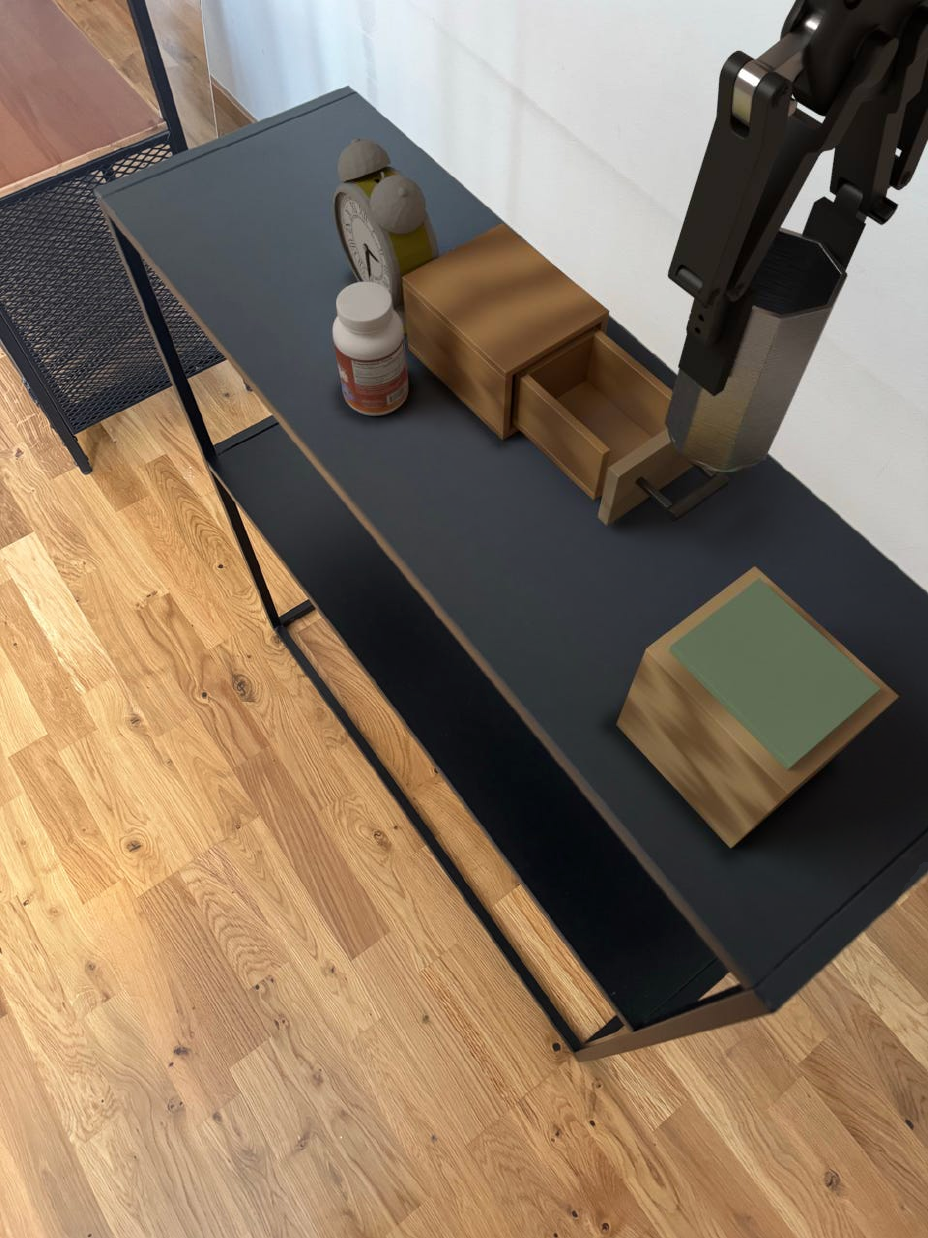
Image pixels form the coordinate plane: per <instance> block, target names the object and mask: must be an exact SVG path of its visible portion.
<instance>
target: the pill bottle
mask: <svg viewBox="0 0 928 1238" xmlns="http://www.w3.org/2000/svg"><path fill="white" fill-rule="evenodd" d="M335 303H336V304H335V305H336V306H335V307H336V314H337V316H336V317H335V319H334V321H333V324H332V339H333V345H334V350H335V357H336V361H337V367H338V373H339V379H340V383H341V389H342V390H341V391H342V394H343V398H344V399H345V402H346V404H347V405H348V406H349V407H350V408H351V409H352V410H354V411H355V412H357V413H359V414H361V415H365V416H373V417H376V416H384V415H387V414H390V413H392V412H394V411H396V410H397V409H399V408H400V407H401V406H402V405H403V404H404V403H405V401H406V399H407V397H408V393H409V378H408V376H409V375H408V365H407V355H406V342H405V334H404V331H403V324H402V321H401V319H400V317H399V316H398V314H397V313H396V312H395V310H394V308H393V304H392V297H391V295H390V293H389V291H388V290H387V289H386V288H385V287H383V286H382V285H380V284H377V283H374V282H358V281H357V282H354V283H352V284H349V285H347V286H345V287H344V288H343V289H342V290H341V291H339V293H338V295H337V297H336V302H335Z"/></svg>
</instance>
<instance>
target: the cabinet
mask: <svg viewBox="0 0 928 1238" xmlns="http://www.w3.org/2000/svg"><path fill="white" fill-rule="evenodd" d="M402 281H403V293H404V305H405V316H406V328H407V334H406V340H407V348H408V350H409V351H410V352H411V353H412V354H413V355H414V356H415V357H416V358H417V359H418V360H419V361H421V363H423V365H424V366H425V367H427V368H428V370H430V372H432V374H434V375H435V376H436V377H437V379H439V380H440V381H441V382H442V383H443V384H444V385H445V386H446V387H447V388H448V389H449V390H450V391H451V392H452V393H453V394H454V395H455V396H456V397H457V398H458V399H459V400H460V401H461V402H462V403H463V404H464V405H466V407H468V408H469V409H470V411H472V412H473V413H474V414H475V415H476V416H477V417H478V419H480V420H481V421H482V422H483V423H484V424H485V425H486V426H487V427H488V428H489V429H490V430H491V431H492V432H493V433H494V434H496V436H497V437H498V438H499V439H500V440H501V441H505V440H506V439H508V438H509V437H511V436H512V435H515V434H516V433H517V432H519V431H520V430H519V429H518V428H517V427H516V426H515V425H514V424H513V404H514V388H515V374H516V373H517V372H519V371H521V370H522V369H524V368H526V367H527V366H529V365H531V364H532V363H534V362H536V361H537V360H539V359H540V358H542V357H544V356H545V355H547V354H549V353H550V352H552V351H554V350H555V349H557V348H559V347H560V346H562V345H564V344H565V343H567V342H569V341H570V340H572V339H574V338H575V337H577V336H579V335H580V334H582V333H584V332H585V331H587V330H589V329H590V328H592V327H594V326H596V327H597V328H598V329H599V330H601V331H602V332H603V333H604V334H605V335H607V328H608V323H609V317H610V310H609V309H608V308H607V307H606V306H604V305H603V304H602V303H601V302H600V301H599V300H597V299H596V298H595V297H594V296H592V295H591V294H590V293H588V291H586V290H585V289H584V288H583V287H582V286H580V285H579V284H578V283H576V282H575V281H574V280H573V279H572V278H570V277H569V276H568V275H567V274H566V273H565V272H563V271H562V270H561V269H560V268H559V267H557V266H556V265H555V264H554V263H553V262H551V261H550V260H549V259H548V258H546V257H545V256H544V255H543V254H541V253H540V252H539V251H538V250H536V249H535V248H534V247H533V246H532V245H531V244H529V243H528V242H527V241H526V240H524V239H523V238H522V237H521V236H520V235H518V234H517V233H516V232H514V230H512V229H511V228H510V227H509V226H508V225H506V224H505V223H504V222H502V223H500V224H498V225H497V226H495V227H492V228H490V229H488V230H487V231H485V232H484V233H481V234H479V235H477V236H476V237H474V238H472V239H470V240H469V241H466V242H465V243H463V244H461V245H459V246H457V247H455V248H453V249H452V250H450V251H448V252H446V253H444V254H442V255H439V257H438V258H437V259H435V260H433V261H431V262H429V263H427V264H425V265H424V266H422V267H420V268H418V269H416V270H414V271H412V272H410V273H409V274H407V275H405V276H403V277H402Z"/></svg>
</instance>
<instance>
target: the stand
mask: <svg viewBox="0 0 928 1238" xmlns="http://www.w3.org/2000/svg"><path fill="white" fill-rule="evenodd" d="M758 578H760V579H761V580H762V581H763V582H764V583H765V584H766V585H767V586H769V587H770V588H771V589H772V590H773V591H774V592H775V593H776V594H777V595H778V596H780V597H781V598H782V599H783V600H784V601H785V602H786V603H787V604H788V605H789V606H791V607H792V608H793V609H794V610H795V611H796V612H797V613H798V614H799V615H800V616H802V617H803V618H804V619H805V620H806V621H807V622H808V623H809V624H810V625H811V626H813V627H814V628H815V629H816V630H817V631H818V632H819V633H820V634H821V635H823V636H824V637H825V638H826V639H827V640H828V641H829V642H830V643H831V644H832V645H834V646H835V647H836V648H837V649H838V650H839V651H840V652H841V653H842V654H843V655H845V656H846V657H847V658H848V659H849V660H850V661H851V662H852V663H853V664H854V665H856V666H857V667H858V668H859V669H860V670H861V671H862V672H863V673H864V674H865V675H867V676H868V677H869V678H870V679H871V680H872V681H873V682H874V683H875V684H876V685H878V686H879V687H880V688H881V689H880V690H879V691H878V692H877V693H876V694H875V695H874V696H873V697H872V698H871V699H870V700H868V701H867V702H866V703H865V704H864V705H863V706H861V707H860V708H859V709H858V710H857V711H856V712H855V713H853V714H852V715H851V716H850V717H849V718H848V719H847V720H845V721H844V722H843V723H842V724H841V725H840V726H838V727H837V728H836V729H835V730H834V731H833V732H832V733H830V734H829V735H828V736H827V737H826V738H825V739H824V740H822V741H821V742H820V743H819V744H818V745H817V746H816V747H814V748H813V749H812V750H811V751H810V752H809V753H807V754H806V755H805V756H804V757H803V758H802V759H801V760H799V761H798V762H797V763H796V764H795V765H794V766H793V767H791V768H790V769H789V770H786V769H785V768H784V767H783V766H782V765H781V764H780V763H779V762H778V761H777V760H776V759H775V758H774V757H773V756H772V755H771V754H770V753H769V752H768V751H767V750H766V749H765V748H764V747H763V745H762V744H761V743H760V742H759V741H758V740H757V739H756V738H755V737H754V736H753V735H752V734H751V733H750V732H749V731H748V730H747V729H746V728H745V727H744V726H743V725H742V724H741V723H740V722H739V721H738V720H737V719H736V718H735V717H734V716H733V715H732V714H731V713H730V712H729V711H728V710H727V709H726V708H725V707H724V706H723V705H722V704H721V703H720V702H719V701H718V700H717V699H716V698H715V697H714V696H713V695H712V694H711V693H710V692H709V691H708V690H707V689H706V688H705V687H704V686H703V685H702V684H701V683H700V682H699V681H698V680H697V679H696V678H695V677H694V676H693V675H692V674H691V673H690V672H689V671H688V670H687V669H686V668H685V667H684V666H683V665H682V664H681V663H680V662H679V661H678V660H677V659H676V658H675V657H674V656H673V655H672V654H671V653H670V652H669V649H670V647H671V645H672V644H674V643H675V642H676V641H678V640H679V639H680V638H681V637H683V636H684V635H685V634H687V633H688V632H689V631H691V630H692V629H693V628H695V627H696V626H697V625H698V624H700V623H701V622H702V621H704V620H705V619H706V618H708V617H709V616H710V615H711V614H713V613H714V612H715V611H717V610H718V609H719V608H721V607H722V606H723V605H724V604H726V603H727V602H728V601H730V600H731V599H732V598H734V597H735V596H736V595H737V594H739V593H740V592H741V591H743V590H744V589H745V588H747V587H748V586H749V585H751V584H752V583H753V582H754V581H756V580H757V579H758ZM899 697H900V696H899V695H898V694H897V693H896V692H895V691H894V690H893V689H892V688H891V687H890V686H888V685H887V683H885V682H884V681H883V680H882V679H880V677H878V676H877V675H876V674H875V673H874V672H873V671H872V670H871V669H870V668H869V667H868V666H866V665H865V664H864V663H863V662H861V660H860V659H859V658H858V657H856V656H855V655H854V654H853V653H852V652H850V650H849V649H848V648H846V647H845V646H844V645H843V644H842V643H841V642H840V641H838V639H836V638H835V637H834V636H833V635H832V634H831V633H830V632H829V631H828V630H826V629H825V627H823V626H822V625H821V624H820V623H818V622H817V620H816V619H814V617H812V616H811V615H810V614H809V613H807V611H806V610H804V608H802V607H801V606H800V605H799V604H798V603H797V602H796V601H795V600H793V599H792V598H791V597H790V596H789V595H788V594H786V592H785V591H783V590H782V589H781V588H780V587H779V586H778V585H777V584H775V582H774V581H772V580H771V579H770V578H769V577H768V576H767V575H766V574H765V573H763V572H762V571H761V570H760V569H759V568H757V566H752V568H750V569H749V570H748V571H746V572H745V573H744V574H742V575H741V576H740V577H738V579H736V580H734V581H733V582H732V583H731V584H728V586H727V587H725V588H724V589H723V590H721V591H720V592H719V593H717V594H716V595H714V597H712V598H711V599H710V600H708V601H706V602H705V603H704V604H702V606H700V607H699V608H698V609H696V610H695V611H694V612H692V613H691V614H690V615H689V616H686V618H685V619H683V620H682V621H681V622H679V623H678V624H677V625H675V626H674V627H673V628H672V629H670V630H668V631H667V632H666V633H665V634H663V635H662V636H661V637H659V638H658V639H657V640H656V641H655V642H653V643H651V645H649V646H647V647H646V648H645V650H644V653H643V655H642V658H641V660H640V663H639V665H638V668H637V670H636V673H635V676H634V678H633V681H632V684H631V686H630V688H629V691H628V694H627V696H626V698H625V700H624V703H623V706H622V708H621V712H620V714H619V717H618V719H617V722H616V724H615V725H616V726H617V727H618V728H619V730H620V731H621V732H622V733H623V734H624V735H625V736H626V737H627V738H628V739H629V741H631V742H632V744H633V745H634V746H635V747H636V748H637V749H638V750H639V751H640V752H641V753H642V755H644V757H646V759H647V760H648V761H649V762H650V763H651V764H652V765H653V766H654V768H655V769H657V771H658V772H659V773H661V775H662V776H663V777H664V778H665V780H666V781H668V782H669V783H670V785H671V786H672V787H673V788H674V789H675V790H676V791H677V792H678V793H679V794H680V796H682V798H683V799H684V800H685V801H686V802H687V803H688V804H689V806H691V807H692V809H693V810H694V811H695V812H696V813H697V814H698V815H699V816H700V817H701V818H702V819H703V820H704V821H705V823H706V824H707V825H708V826H709V827H710V828H711V829H712V830H713V831H714V832H715V833H716V834H717V836H718V837H719V838H720V839H721V840H722V841H723V842H724V843H725V844H726V845H727V846H728V848H729V849H733V848H734V847H735V846H736V845H738V843H740V842H741V841H742V840H743V839H744V838H745V837H746V836H748V834H750V833H751V832H752V831H753V830H754V829H755V828H756V827H758V826H759V825H760V824H761V823H762V822H763V821H764V820H766V819H767V818H768V817H769V816H770V815H771V814H773V813H774V811H776V810H777V809H778V808H779V807H780V806H781V805H782V804H784V803H785V802H786V801H787V800H789V798H790V797H792V796H793V795H794V794H795V793H796V792H798V790H800V788H802V787H803V786H804V785H805V784H806V783H807V782H809V781H810V780H811V779H812V778H813V777H815V775H816V774H818V773H819V772H820V771H821V770H822V769H823V768H824V767H825V766H826V765H828V764H829V763H830V762H831V761H832V760H833V759H834V758H835V757H836V756H837V755H838V754H839V753H841V752H842V751H843V750H844V749H845V748H846V747H847V746H848V745H849V744H850V743H851V742H852V741H854V740H855V738H857V737H858V736H859V735H860V734H861V733H862V732H863V731H865V730H866V728H868V726H870V725H871V724H872V723H873V722H874V721H875V720H876V719H877V718H878V717H879V716H880V715H881V714H882V713H883V712H885V711H886V710H887V709H888V708H889V707H890V706H892V704H894V702H895V701H896V700H898V698H899Z"/></svg>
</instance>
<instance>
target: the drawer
mask: <svg viewBox="0 0 928 1238" xmlns="http://www.w3.org/2000/svg"><path fill="white" fill-rule="evenodd" d="M672 393H673V390H672V389H671V388H669V387H668V386H667V385H666V384H665V383H664V382H662V381H661V380H660V379H659V378H658V377H656V376H655V374H653V373H651V372H650V370H648V369H647V368H646V367H644V365H642V364H641V363H640V362H639V361H638V360H636V359H635V358H634V357H632V356H631V355H630V354H629V353H628V352H627V351H626V350H624V348H622V347H621V346H620V345H618V344H617V343H616V342H614V340H613V339H611V338H610V337H609V336H608V335H607V334H604V333H603V332H602V331H601V330H599V329H598V328H597V327H596V326H594V327H592V328H590V329H589V330H587V331H585V332H584V333H582V334H580V335H579V336H577V337H575V338H574V339H572V340H570V341H569V342H567V343H565V344H564V345H562V346H560V347H559V348H557V349H555V350H554V351H552V352H550V353H549V354H547V355H545V356H544V357H542V358H540V359H539V360H537V361H536V362H534V363H532V364H531V365H529V366H527V367H526V368H524V369H522V370H521V371H519V372H517V373H516V374H515V388H514V404H513V424H514V425H515V426H516V427H517V428H518V429H519V431H520V432H521V433H522V434H523V435H524V436H525V437H526V438H527V439H529V440H530V441H531V442H532V444H534V445H535V446H536V448H538V449H539V450H540V451H541V452H542V453H543V454H544V455H545V456H546V457H547V458H548V459H549V460H550V461H551V462H553V463H554V464H555V465H556V467H558V468H559V469H560V470H561V471H562V472H563V473H564V474H565V475H566V476H567V477H568V478H569V479H571V481H572V482H573V483H575V485H577V486H578V488H580V489H581V490H582V491H583V492H584V493H585V494H586V495H587V496H588V497H589V498H590V499H591V500H592V501H595V500H597V499H598V498H600V497H601V500H600V503H599V504H600V505H599V508H598V510H599V511H598V514H597V518H598V519H599V520H600V521H601V522H602V523H603V524H604V525H605V526H606V527H608V526H609V525H610V524H612V523H614V522H615V521H616V520H618V519H619V518H621V517H622V516H623V515H626V514H627V513H628V512H629V511H632V509H634V508H635V507H637V506H638V505H639V504H641V503H642V502H644V501H645V500H646V499H648V498H650V499H652V501H654V502H655V503H656V504H657V505H658V506H660V508H661V509H663V510H664V513H665V517H666V519H667V520H668V521H669V522H670V523H676V522H678V521H679V520H680V519H682V518H683V517H685V516H686V515H687V514H689V513H690V512H691V511H693V510H694V509H696V508H698V506H700V505H701V504H703V503H704V502H706V501H707V500H709V499H710V498H711V497H712V496H714V495H715V494H717V493H718V492H720V491H721V490H722V489H724V488H725V487H726V486H728V485H729V483H730V479H729V477H728V475H727V474H726V473H725V472H717V471H712V470H708V469H705V468H702V467H699V466H697V465H695V464H693V463H691V462H690V461H688V460H687V459H685V458H684V457H683V456H682V455H681V454H680V453H679V452H678V451H677V450H676V449H675V448H674V446H673V444H672V443H671V440H670V438H669V435H668V429H667V427H666V425H665V418H666V415H667V411H668V407H669V404H670V400H671V396H672ZM693 467H694V468H695V469H696V470H698V472H700V473H701V474H702V475H703V476H705V478H707V479H708V480H707V481H705V482H704V483H702V484H701V485H699V486H698V487H697V488H695V489H694V490H692V491H691V492H689V493H688V494H686V495H685V496H684V497H683V498H681V499H680V500H678V501H677V502H675V503H674V504H673V503H672V502H671V501H670V500H669V499H667V497H665V496H664V495H663V494H662V493H661V492H660V490H661V489H662V488H664V487H666V486H667V485H668V484H670V483H671V482H672V481H674V480H676V479H677V478H678V477H679V476H682V475H683V474H684V473H686V472H687V471H688V470H691V468H693Z"/></svg>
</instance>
